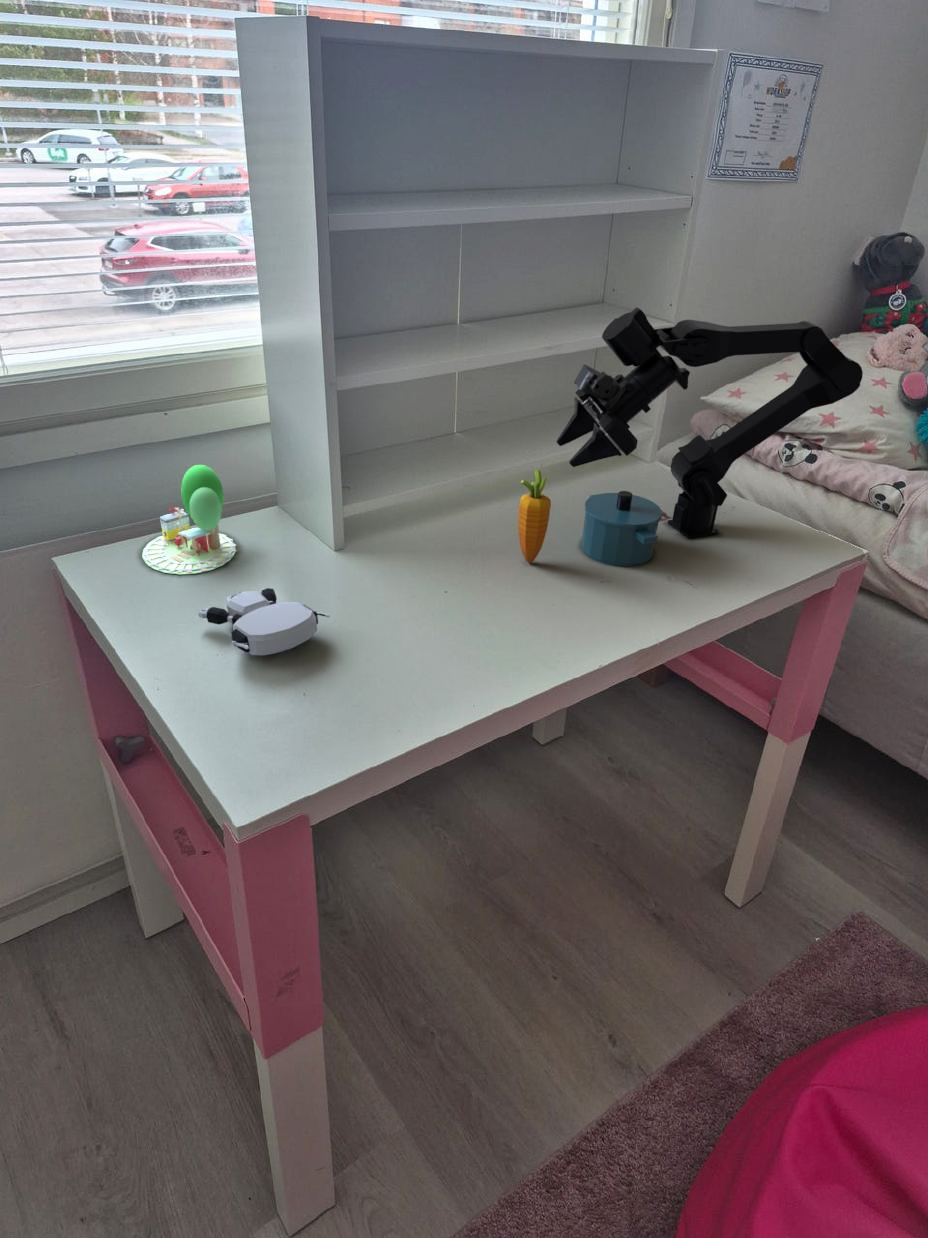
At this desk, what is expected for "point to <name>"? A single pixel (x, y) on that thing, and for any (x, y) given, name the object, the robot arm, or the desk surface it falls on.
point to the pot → (618, 542)
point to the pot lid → (623, 509)
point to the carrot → (533, 518)
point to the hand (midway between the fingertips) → (564, 454)
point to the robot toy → (265, 622)
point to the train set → (197, 545)
